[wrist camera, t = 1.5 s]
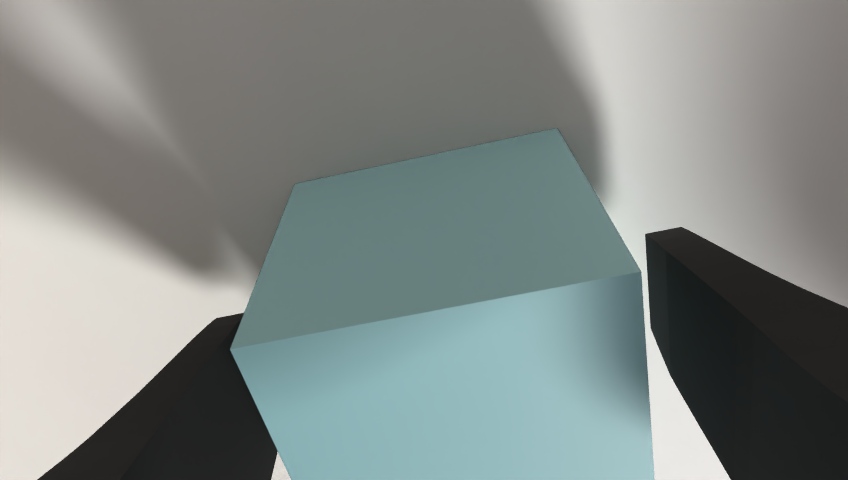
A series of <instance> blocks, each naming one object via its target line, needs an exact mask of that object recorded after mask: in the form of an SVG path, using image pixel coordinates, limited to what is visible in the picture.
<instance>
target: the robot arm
mask: <svg viewBox="0 0 848 480" xmlns="http://www.w3.org/2000/svg"><path fill="white" fill-rule="evenodd" d="M645 238H646V255H647V272H648V290H649V307H650V324H651V330H652V332H653V335H654V337H655V340H656V342H657V345H658V347H659V350H660V352H661V354H662V357H663V359H664V361H665V364H666V366H667V368H668V371H669V373H670V375H671V377H672V379H673V381H674V383H675V384H676V386H677V388H678V390H679V391H680V393H681V395H682V397H683V398H684V400H685V402H686V404H687V405H688V407H689V409H690V411H691V412H692V414H693V416H694V417H695V419H696V421H697V423H698V424H699V426H700V428H701V429H702V431H703V433H704V434H705V436H706V438H707V440H708V441H709V443H710V445H711V446H712V448H713V450H714V451H715V453H716V455H717V457H718V458H719V460H720V462H721V463H722V465H723V467H724V469H725V470H726V472H727V474H728V475H729V477H730V479H731V480H848V308H847V307H844V306H842V305H839V304H837V303H835V302H832V301H830V300H828V299H826V298H823V297H821V296H819V295H816V294H814V293H812V292H809V291H807V290H805V289H803V288H800V287H798V286H796V285H794V284H792V283H790V282H788V281H786V280H783V279H781V278H779V277H777V276H775V275H773V274H771V273H769V272H767V271H765V270H763V269H761V268H759V267H757V266H755V265H753V264H751V263H749V262H748V261H746V260H744V259H742V258H740V257H738V256H736V255H734V254H732V253H730V252H729V251H727V250H725V249H723V248H721V247H719V246H717V245H715V244H714V243H712V242H710V241H708V240H706V239H704V238H702V237H700V236H699V235H697V234H695V233H693V232H691V231H689V230H687V229H684V228H682V227H679V228H673V229H668V230H663V231H658V232H653V233H648V234H645ZM243 315H244V313H241V314H236V315H231V316H225V317H220V318H216V319H215V320H214V321H212V322H211V323H210V324H209V325H207V326H206V327H205V328H204V329H203V330H202V331H201V332H200V333H199V334H198V335H197V336H196V337H194V338H193V339H192V340H191V341H190V342H189V343H188V344H187V345H186V346H185V347H184V348H183V349H182V350H181V351H180V352H179V353H178V354H177V355H176V356H175V357H174V358H173V359H172V360H171V361H170V362H169V363H168V364H167V365H166V366H165V367H164V368H163V369H162V370H161V371H160V372H159V373H158V374H157V375H156V376H155V377H154V378H153V379H152V380H151V381H150V382H149V383H148V384H147V385H146V386H145V387H144V388H143V389H142V390H141V391H140V392H139V393H137V394H136V395H135V396H134V397H133V398H132V399H131V400H130V401H129V402H128V403H127V404H126V405H124V406H123V407H122V408H121V409H120V410H119V411H118V412H117V413H116V414H115V415H114V416H112V417H111V418H110V419H109V420H108V421H107V422H106V423H105V424H104V425H103V426H102V427H100V428H99V429H98V430H97V431H96V432H95V433H94V434H93V435H92V436H91V437H89V438H88V439H87V440H86V441H85V442H84V443H82V444H81V445H80V446H79V447H78V448H76V449H75V450H74V451H73V452H72V453H70V454H69V455H68V456H67V457H66V458H64V459H63V460H62V461H61V462H59V463H58V464H57V465H55V466H54V467H53V468H52V469H50V470H49V471H48V472H46V473H45V474H44V475H43V476H41V477H40V478H39V479H38V480H271V477H272V473H273V469H274V465H275V460H276V456H277V452H278V450H277V448H276V446H275V444H274V442H273V440H272V438H271V436H270V433H269V431H268V429H267V427H266V425H265V423H264V421H263V419H262V416H261V414H260V412H259V410H258V408H257V406H256V404H255V402H254V399H253V397H252V395H251V393H250V391H249V389H248V387H247V385H246V382H245V380H244V378H243V376H242V374H241V372H240V370H239V368H238V365H237V363H236V361H235V359H234V357H233V355H232V353H231V351H230V348H231V345H232V343H233V340H234V338H235V335H236V333H237V330H238V328H239V325H240V322H241V320H242V317H243Z"/></svg>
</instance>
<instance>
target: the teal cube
mask: <svg viewBox="0 0 848 480" xmlns="http://www.w3.org/2000/svg"><path fill="white" fill-rule="evenodd" d="M230 351H231V353H232V355H233V357H234V359H235V361H236V363H237V365H238V368H239V370H240V372H241V374H242V376H243V378H244V380H245V382H246V385H247V387H248V389H249V391H250V393H251V395H252V397H253V399H254V402H255V404H256V406H257V408H258V410H259V412H260V414H261V416H262V419H263V421H264V423H265V425H266V427H267V429H268V431H269V433H270V436H271V438H272V440H273V442H274V444H275V446H276V448H277V450H278V453H279V455H280V457H281V459H282V461H283V463H284V465H285V467H286V470H287V472H288V474H289V476H290V478H291V480H654V464H653V449H652V433H651V418H650V402H649V386H648V371H647V355H646V340H645V324H644V309H643V293H642V277H641V270H640V269H639V267H638V265H637V264H636V262H635V260H634V258H633V257H632V255H631V253H630V252H629V250H628V248H627V246H626V245H625V243H624V241H623V240H622V238H621V236H620V235H619V233H618V231H617V229H616V228H615V226H614V224H613V223H612V221H611V219H610V217H609V216H608V214H607V212H606V211H605V209H604V207H603V205H602V204H601V202H600V200H599V199H598V197H597V195H596V194H595V192H594V190H593V188H592V187H591V185H590V183H589V182H588V180H587V178H586V176H585V175H584V173H583V171H582V170H581V168H580V166H579V164H578V163H577V161H576V159H575V158H574V156H573V154H572V153H571V151H570V149H569V147H568V146H567V144H566V142H565V141H564V139H563V137H562V135H561V134H560V132H559V130H558V129H557V128H555V129H550V130H546V131H541V132H536V133H532V134H527V135H522V136H517V137H513V138H508V139H503V140H499V141H494V142H489V143H485V144H480V145H475V146H470V147H466V148H461V149H456V150H452V151H447V152H442V153H438V154H433V155H428V156H423V157H419V158H414V159H409V160H405V161H400V162H395V163H391V164H386V165H381V166H376V167H372V168H367V169H362V170H358V171H353V172H348V173H344V174H339V175H334V176H329V177H325V178H320V179H315V180H311V181H306V182H301V183H297V184H295V185H294V187H293V190H292V192H291V195H290V197H289V200H288V203H287V205H286V208H285V210H284V213H283V215H282V218H281V220H280V223H279V226H278V228H277V231H276V233H275V236H274V238H273V241H272V243H271V246H270V248H269V251H268V254H267V256H266V259H265V261H264V264H263V266H262V269H261V271H260V274H259V277H258V279H257V282H256V284H255V287H254V289H253V292H252V294H251V297H250V300H249V302H248V305H247V307H246V310H245V312H244V315H243V317H242V320H241V322H240V325H239V328H238V330H237V333H236V335H235V338H234V340H233V343H232V345H231V348H230Z"/></svg>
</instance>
